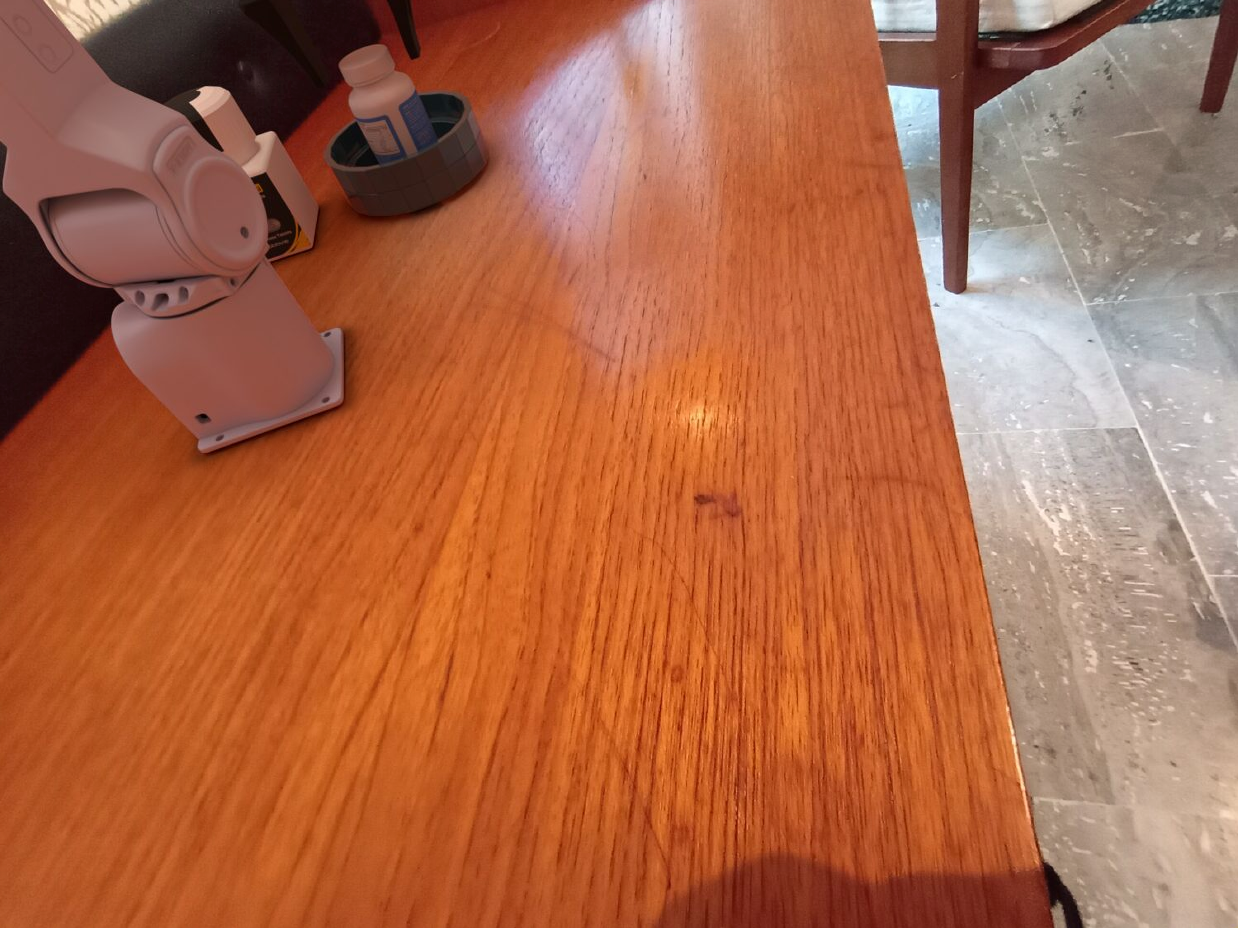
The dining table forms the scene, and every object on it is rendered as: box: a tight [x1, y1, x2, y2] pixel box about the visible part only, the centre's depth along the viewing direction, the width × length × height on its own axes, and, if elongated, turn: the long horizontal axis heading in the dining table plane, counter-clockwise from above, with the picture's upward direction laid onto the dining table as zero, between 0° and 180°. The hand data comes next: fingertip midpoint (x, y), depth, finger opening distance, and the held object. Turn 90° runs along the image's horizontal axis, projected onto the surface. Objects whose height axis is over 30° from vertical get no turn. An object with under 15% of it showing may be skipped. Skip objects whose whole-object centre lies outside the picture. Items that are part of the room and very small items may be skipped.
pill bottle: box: [338, 43, 438, 164], centre depth 60 cm, size 6×5×10 cm
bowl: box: [323, 89, 490, 217], centre depth 62 cm, size 13×13×4 cm
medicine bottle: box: [162, 85, 320, 263], centre depth 58 cm, size 7×7×12 cm
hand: (369, 69), depth 57 cm, fingers open, 7 cm apart
